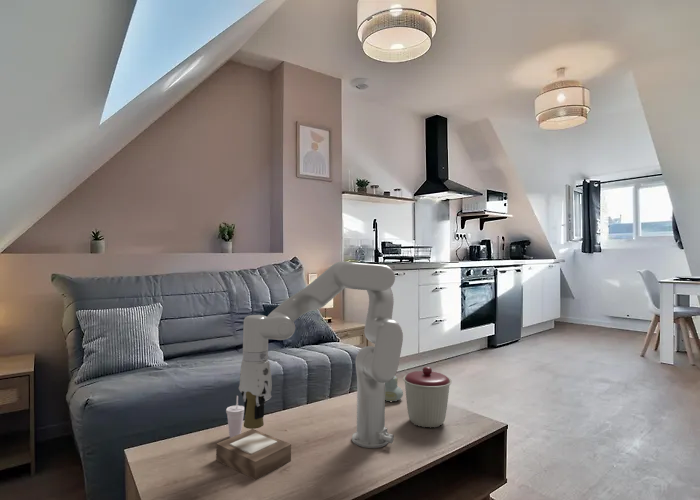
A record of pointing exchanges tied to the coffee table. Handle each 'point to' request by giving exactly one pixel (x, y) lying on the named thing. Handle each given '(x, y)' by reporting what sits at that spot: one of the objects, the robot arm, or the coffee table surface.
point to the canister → (427, 397)
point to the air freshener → (393, 390)
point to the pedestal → (253, 453)
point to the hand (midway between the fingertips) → (253, 415)
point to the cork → (252, 413)
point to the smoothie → (235, 419)
